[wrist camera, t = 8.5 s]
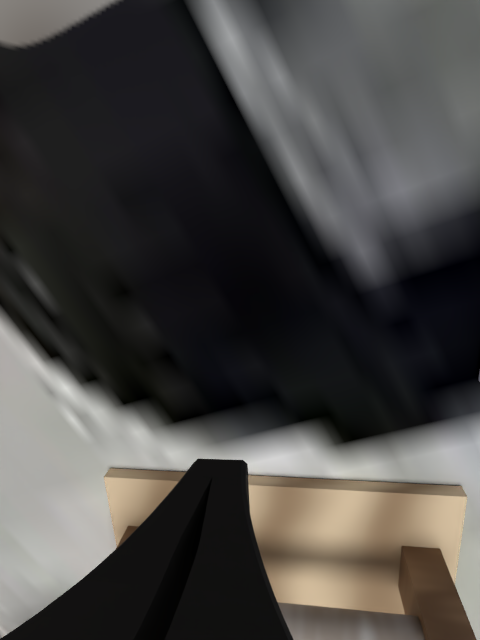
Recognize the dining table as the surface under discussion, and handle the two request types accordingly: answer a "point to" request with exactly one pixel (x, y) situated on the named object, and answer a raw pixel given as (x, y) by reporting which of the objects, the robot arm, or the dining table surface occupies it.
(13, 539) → the dining table surface
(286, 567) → the pipe stand
